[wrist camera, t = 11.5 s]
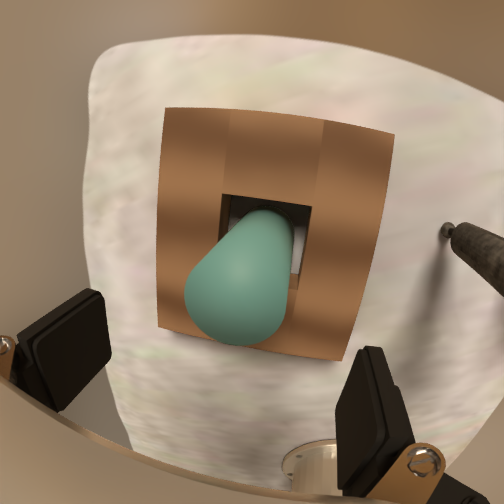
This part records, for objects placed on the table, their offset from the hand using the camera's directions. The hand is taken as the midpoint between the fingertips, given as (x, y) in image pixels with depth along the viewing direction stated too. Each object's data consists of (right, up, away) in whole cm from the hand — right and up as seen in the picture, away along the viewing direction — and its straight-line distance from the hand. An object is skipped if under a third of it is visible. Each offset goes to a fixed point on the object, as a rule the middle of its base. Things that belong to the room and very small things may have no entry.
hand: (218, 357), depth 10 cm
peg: (+2, +5, +14) cm, 15 cm away
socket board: (+2, +5, +14) cm, 15 cm away
